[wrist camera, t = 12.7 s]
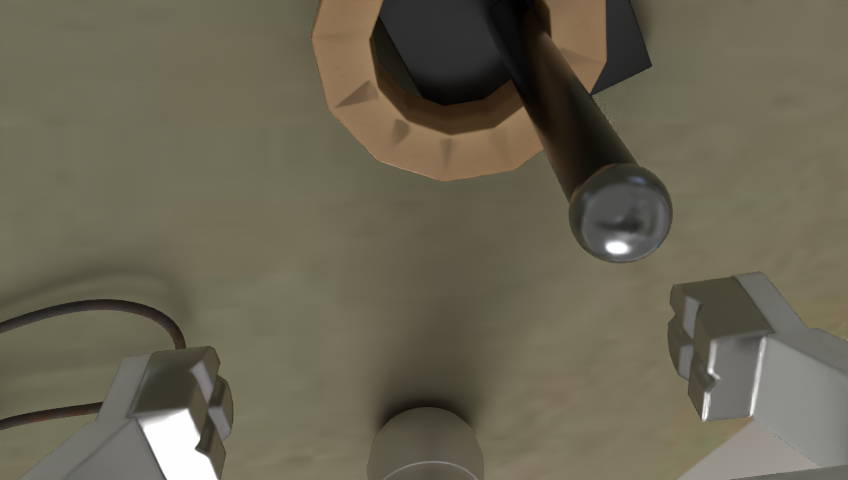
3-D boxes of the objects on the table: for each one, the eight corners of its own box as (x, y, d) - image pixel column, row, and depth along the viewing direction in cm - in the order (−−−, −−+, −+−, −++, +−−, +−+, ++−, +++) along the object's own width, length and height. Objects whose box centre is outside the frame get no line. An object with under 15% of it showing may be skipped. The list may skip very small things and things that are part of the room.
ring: (520, -190, 25) (537, -186, 22) (628, 73, 30) (651, 101, 27) (260, -28, 27) (249, -8, 24) (403, 190, 32) (406, 225, 30)
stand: (568, -157, 26) (811, -78, 12) (643, 57, 31) (885, 305, 16) (353, -36, 28) (334, 162, 14) (453, 149, 33) (519, 447, 18)
